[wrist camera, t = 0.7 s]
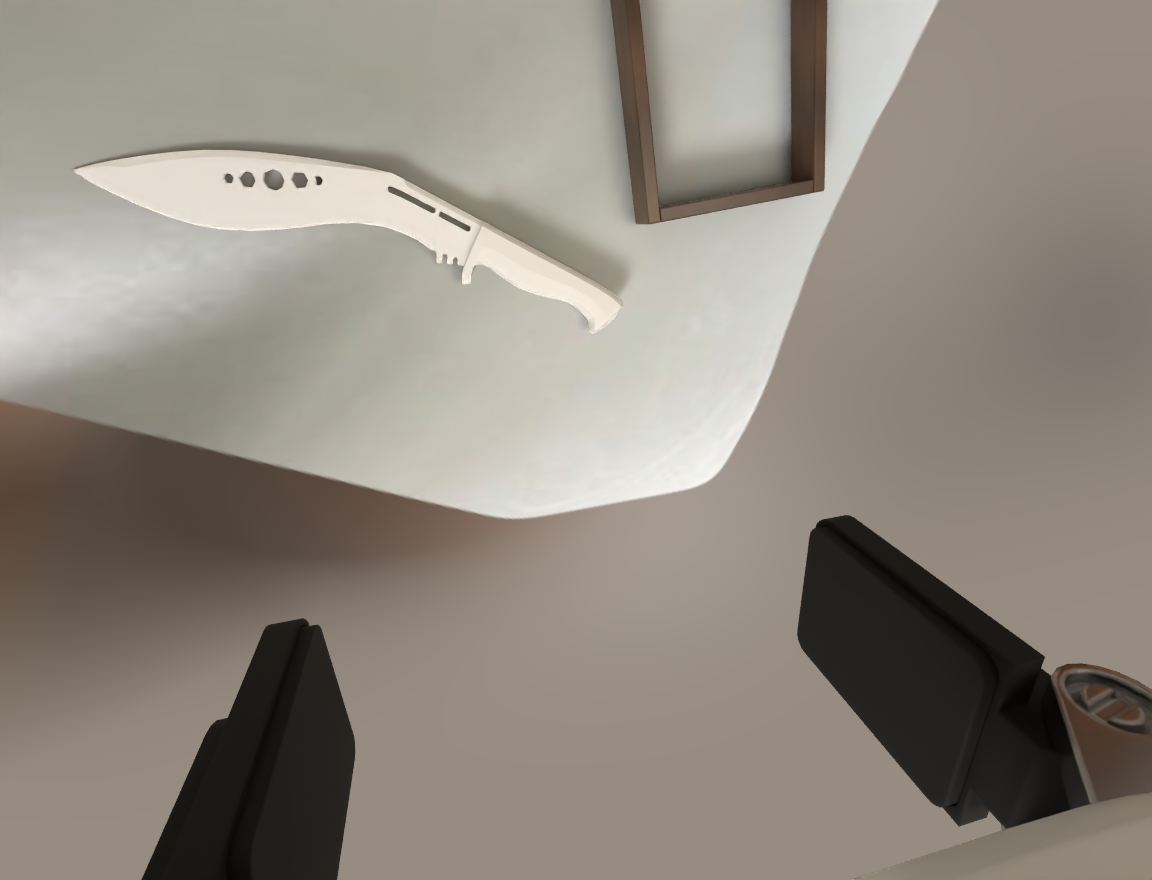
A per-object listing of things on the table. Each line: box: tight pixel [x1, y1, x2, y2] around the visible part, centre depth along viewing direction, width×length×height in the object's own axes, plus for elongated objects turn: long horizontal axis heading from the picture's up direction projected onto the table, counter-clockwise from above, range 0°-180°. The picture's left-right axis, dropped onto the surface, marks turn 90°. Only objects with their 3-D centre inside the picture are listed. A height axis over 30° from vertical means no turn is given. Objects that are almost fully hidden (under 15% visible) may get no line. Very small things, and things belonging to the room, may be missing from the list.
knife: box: [73, 150, 623, 334], centre depth 33 cm, size 30×2×8 cm
